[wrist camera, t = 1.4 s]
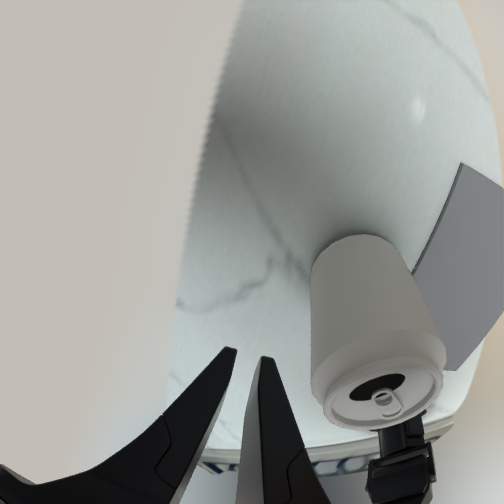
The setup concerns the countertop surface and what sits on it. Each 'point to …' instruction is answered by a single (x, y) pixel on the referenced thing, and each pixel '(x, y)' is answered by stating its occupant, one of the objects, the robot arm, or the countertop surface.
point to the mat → (465, 265)
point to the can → (371, 336)
